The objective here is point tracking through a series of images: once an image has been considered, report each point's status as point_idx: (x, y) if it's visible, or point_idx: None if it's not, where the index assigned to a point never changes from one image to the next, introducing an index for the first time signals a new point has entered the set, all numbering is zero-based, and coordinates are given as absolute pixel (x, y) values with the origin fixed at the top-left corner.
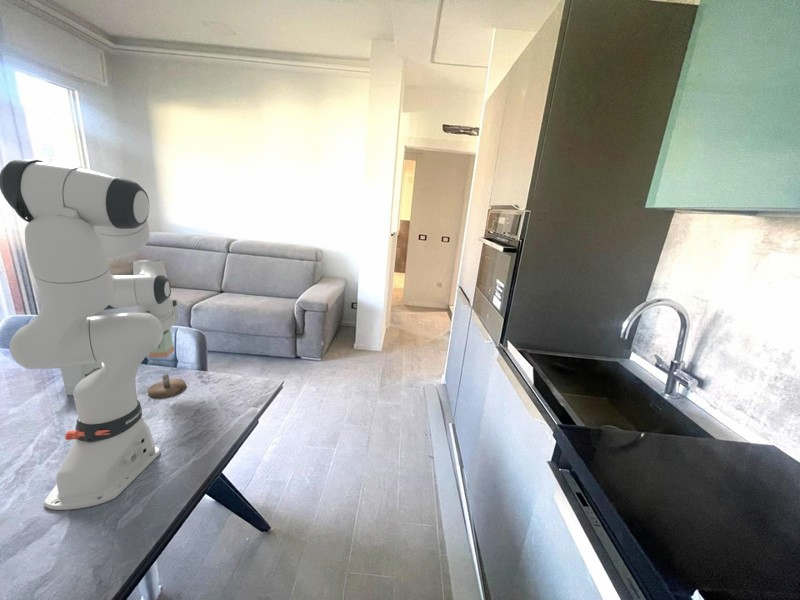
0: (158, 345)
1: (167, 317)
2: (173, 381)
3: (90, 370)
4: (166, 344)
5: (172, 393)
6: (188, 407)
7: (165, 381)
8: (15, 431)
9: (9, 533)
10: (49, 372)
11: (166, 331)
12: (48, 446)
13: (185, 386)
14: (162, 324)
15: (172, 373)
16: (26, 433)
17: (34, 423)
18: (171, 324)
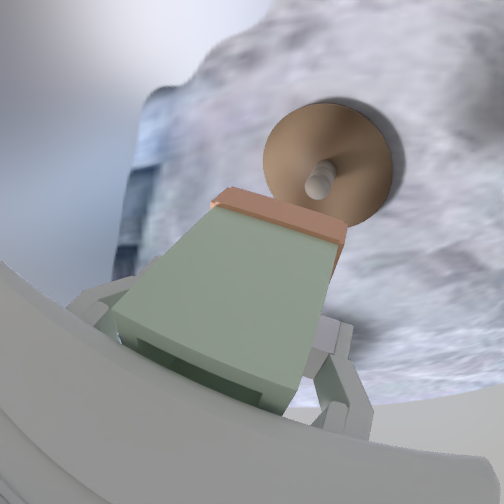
0: (329, 338)
1: (2, 423)
2: (287, 151)
3: None
4: (296, 278)
5: (386, 145)
6: (498, 92)
7: (332, 180)
8: (388, 398)
9: None
10: None
11: (141, 341)
12: (479, 361)
13: (325, 103)
14: (156, 497)
15: (199, 168)
16: (407, 389)
17: (375, 387)
18: (35, 319)
